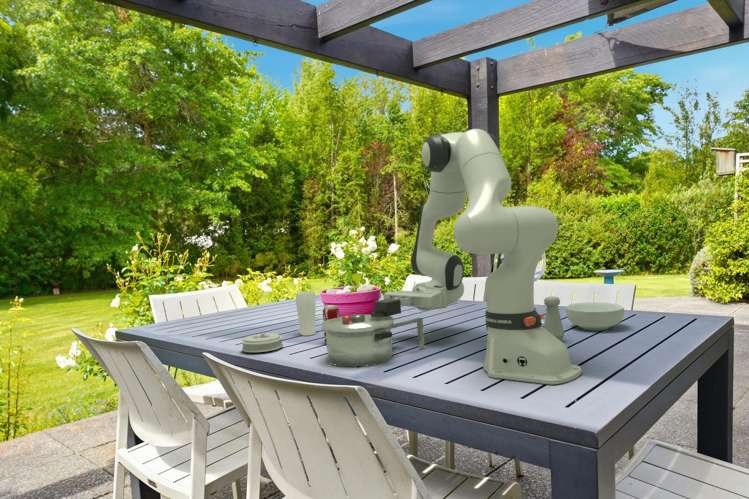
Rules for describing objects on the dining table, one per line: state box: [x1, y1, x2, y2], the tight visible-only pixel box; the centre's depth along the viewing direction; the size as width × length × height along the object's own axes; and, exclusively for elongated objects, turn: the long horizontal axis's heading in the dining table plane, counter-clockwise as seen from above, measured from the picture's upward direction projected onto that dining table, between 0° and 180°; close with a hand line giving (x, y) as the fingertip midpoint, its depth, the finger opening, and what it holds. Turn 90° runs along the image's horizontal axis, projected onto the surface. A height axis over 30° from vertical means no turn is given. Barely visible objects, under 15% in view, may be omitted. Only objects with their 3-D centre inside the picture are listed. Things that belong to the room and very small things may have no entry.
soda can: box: [322, 304, 340, 345], centre depth 165 cm, size 5×5×12 cm
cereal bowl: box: [565, 301, 625, 332], centre depth 163 cm, size 17×17×7 cm
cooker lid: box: [321, 299, 402, 333], centre depth 145 cm, size 20×25×5 cm
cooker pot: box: [326, 317, 425, 367], centre depth 147 cm, size 22×27×9 cm
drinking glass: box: [295, 290, 317, 337], centre depth 181 cm, size 7×7×15 cm
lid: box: [241, 332, 284, 353], centre depth 162 cm, size 13×13×5 cm
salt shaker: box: [543, 296, 565, 342], centre depth 148 cm, size 6×6×13 cm
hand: (394, 302), depth 153 cm, fingers closed, pressing on cooker lid
